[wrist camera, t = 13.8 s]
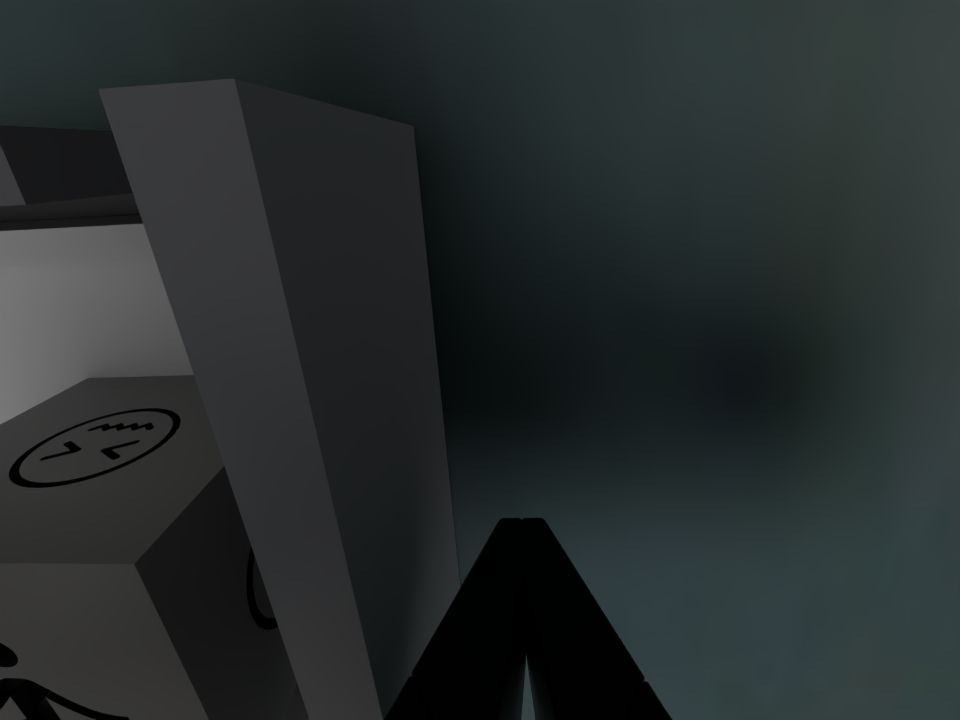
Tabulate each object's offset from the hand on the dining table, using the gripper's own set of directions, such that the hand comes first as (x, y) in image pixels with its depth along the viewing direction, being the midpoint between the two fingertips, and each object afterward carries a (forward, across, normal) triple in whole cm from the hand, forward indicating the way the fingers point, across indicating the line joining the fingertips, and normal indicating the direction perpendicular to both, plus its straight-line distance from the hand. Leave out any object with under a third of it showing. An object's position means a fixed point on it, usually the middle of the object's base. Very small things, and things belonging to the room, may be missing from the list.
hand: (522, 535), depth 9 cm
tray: (+3, +8, 0) cm, 8 cm away
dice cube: (+2, +7, 0) cm, 7 cm away
